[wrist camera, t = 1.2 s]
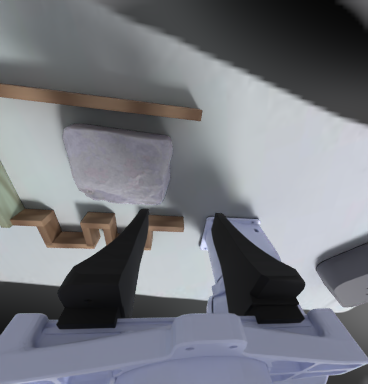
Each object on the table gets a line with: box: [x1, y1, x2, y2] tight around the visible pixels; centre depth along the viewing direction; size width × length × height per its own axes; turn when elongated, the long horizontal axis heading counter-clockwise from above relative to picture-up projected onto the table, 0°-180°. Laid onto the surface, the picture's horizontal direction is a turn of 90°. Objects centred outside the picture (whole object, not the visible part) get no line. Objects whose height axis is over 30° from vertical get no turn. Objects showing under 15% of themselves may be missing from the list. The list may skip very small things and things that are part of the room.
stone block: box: [63, 124, 173, 205], centre depth 20 cm, size 12×5×10 cm
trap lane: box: [0, 83, 202, 250], centre depth 21 cm, size 25×22×3 cm
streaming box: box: [316, 243, 368, 307], centre depth 35 cm, size 14×14×5 cm
